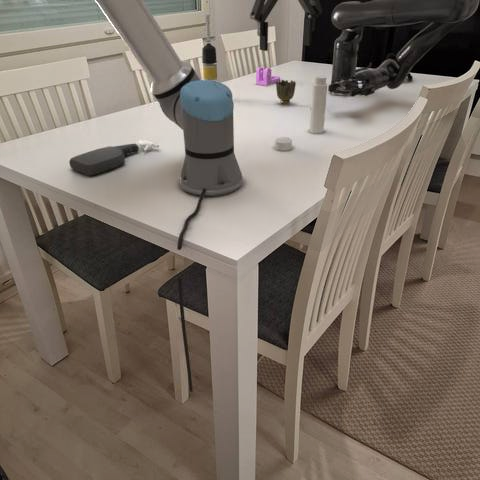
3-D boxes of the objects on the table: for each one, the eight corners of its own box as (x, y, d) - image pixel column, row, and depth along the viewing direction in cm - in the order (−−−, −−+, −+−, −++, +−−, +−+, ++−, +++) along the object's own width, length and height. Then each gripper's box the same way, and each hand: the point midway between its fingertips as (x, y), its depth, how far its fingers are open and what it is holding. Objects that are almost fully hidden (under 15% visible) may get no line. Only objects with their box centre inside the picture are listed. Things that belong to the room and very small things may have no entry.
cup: (272, 105, 169) (272, 83, 165) (279, 100, 174) (280, 79, 170) (290, 107, 166) (291, 85, 162) (297, 102, 171) (298, 80, 167)
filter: (220, 99, 177) (217, 15, 161) (206, 100, 176) (202, 16, 160) (215, 96, 182) (212, 14, 166) (202, 97, 180) (197, 14, 164)
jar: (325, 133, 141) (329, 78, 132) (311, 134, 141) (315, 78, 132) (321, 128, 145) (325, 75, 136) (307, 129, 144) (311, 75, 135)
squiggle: (400, 92, 202) (376, 71, 205) (417, 76, 202) (392, 56, 205) (405, 81, 191) (380, 59, 194) (423, 64, 191) (397, 42, 194)
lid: (280, 143, 134) (280, 136, 132) (294, 147, 131) (295, 139, 130) (271, 148, 130) (272, 140, 129) (286, 152, 128) (286, 144, 126)
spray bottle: (67, 168, 120) (139, 144, 136) (91, 178, 114) (163, 151, 130) (65, 157, 118) (137, 134, 134) (89, 167, 112) (162, 142, 128)
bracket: (266, 85, 195) (266, 69, 192) (256, 84, 198) (256, 67, 195) (282, 80, 204) (282, 64, 200) (272, 78, 207) (272, 62, 203)
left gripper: (251, -50, 97) (251, 54, 108) (341, -51, 107) (332, 45, 118) (235, -49, 103) (237, 50, 114) (321, -50, 113) (315, 41, 124)
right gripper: (350, 67, 156) (323, 75, 147) (387, 74, 148) (360, 82, 138) (348, 89, 160) (321, 98, 151) (383, 97, 152) (357, 107, 142)
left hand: (285, 47), depth 116 cm, fingers open, 13 cm apart
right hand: (340, 90), depth 144 cm, fingers open, 8 cm apart
